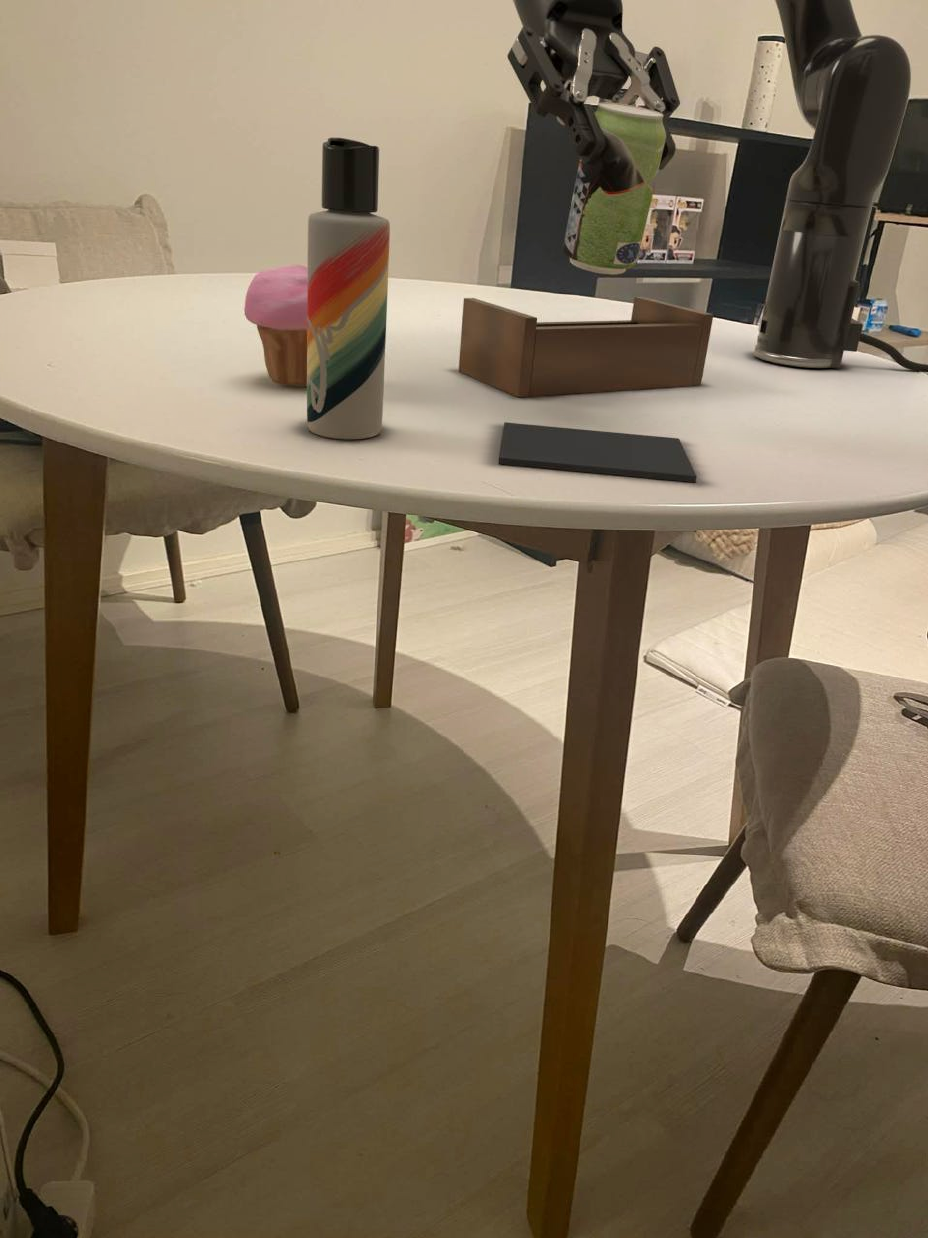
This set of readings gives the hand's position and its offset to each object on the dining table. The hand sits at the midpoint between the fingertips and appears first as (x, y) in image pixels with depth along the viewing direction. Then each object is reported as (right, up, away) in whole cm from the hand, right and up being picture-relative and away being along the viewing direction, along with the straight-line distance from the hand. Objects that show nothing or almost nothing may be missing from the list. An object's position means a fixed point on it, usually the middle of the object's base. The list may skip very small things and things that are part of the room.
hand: (631, 158), depth 74 cm
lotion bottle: (-22, -20, +1) cm, 30 cm away
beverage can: (-2, -7, +5) cm, 9 cm away
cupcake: (-28, -14, +14) cm, 34 cm away
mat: (-3, -22, 0) cm, 22 cm away
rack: (-1, -10, +25) cm, 27 cm away
